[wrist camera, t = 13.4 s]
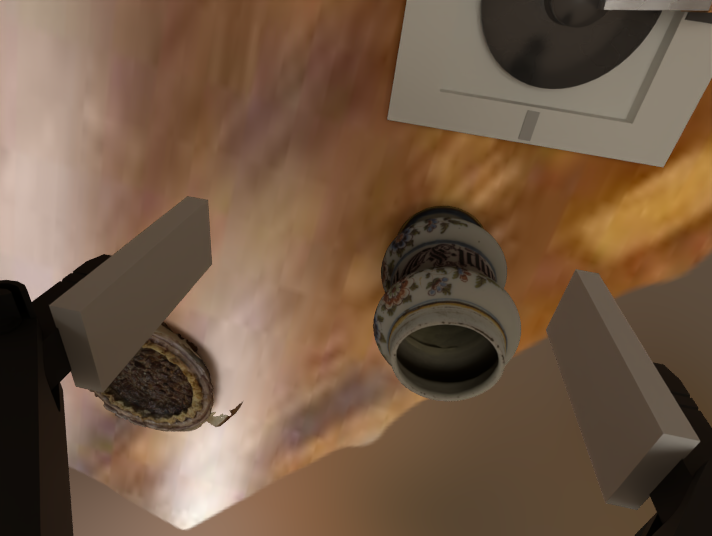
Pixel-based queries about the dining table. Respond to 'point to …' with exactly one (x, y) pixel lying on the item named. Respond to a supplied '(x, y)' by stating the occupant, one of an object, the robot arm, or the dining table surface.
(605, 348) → the robot arm
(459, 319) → the apothecary jar
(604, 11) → the dial
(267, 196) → the dining table surface
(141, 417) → the pie
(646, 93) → the panel
